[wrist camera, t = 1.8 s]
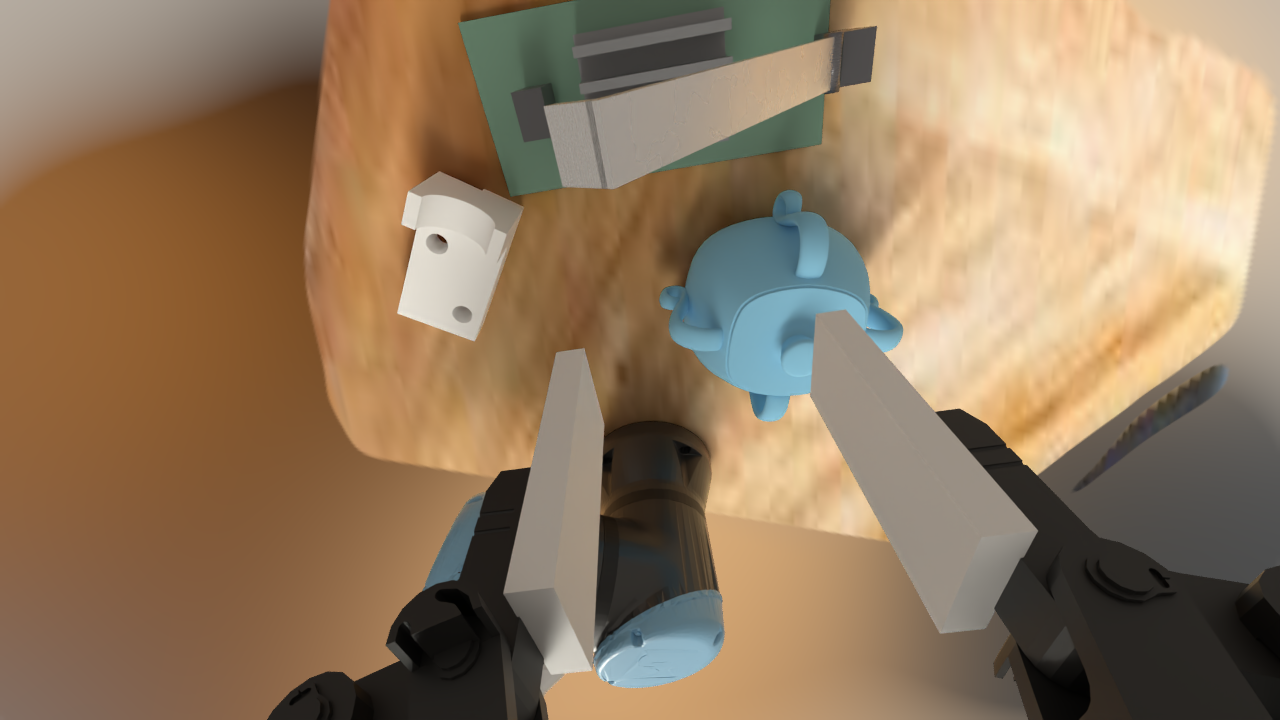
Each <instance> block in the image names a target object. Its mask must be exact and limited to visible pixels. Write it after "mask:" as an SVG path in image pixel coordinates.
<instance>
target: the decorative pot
mask: <svg viewBox="0 0 1280 720" xmlns="http://www.w3.org/2000/svg"><path fill="white" fill-rule="evenodd" d="M801 208H802V196H801V194H800V193H799V192H797V191H794V190H786V191H783V192H781V193H780V194H779V195H778V196H777V198H776V200H775V203H774V206H773V217H763V218H756V219H751V220H747V221H743V222H740V223H736V224H733V225H730V226H728V227H726V228H723V229H721V230H719V231H718V232H716V233H714V234H713V235H711V236H710V237H709V238H708V239H707V240H706V241H704V242H703V244H702V245H701V246H700V247H699V249H698V250H697V252H696V254H695V256H694V257H693V260H692V263H691V266H690V269H689V272H688V276H687V280H686V285H685V288H684V287H682V286H669V287H666V288H665V289H663V291H662V292H661V294H660V299H659V301H660V305H661V307H663V308H664V309H668V310H673V311H672V314H671V316H670V320H669V333H670V335H671V337H672V339H673V340H674V341H675V342H676V343H677V344H679V345H681V346H683V347H685V348H688V349H692V350H693V352H694V353H695V355H696V356H697V358H698V359H699V361H700V362H701V363H702V364H703V365H704V366H705V367H706V368H707V369H708V370H709V371H711V372H712V373H713V374H715V375H716V376H718V377H720V378H721V379H723V380H725V381H726V382H728V383H730V384H731V385H733V386H735V387H738V388H740V389H743V390H745V391H749V394H750V399H751V404H752V408H753V411H754V414H755V416H756V417H757V418H758V419H760V420H762V421H776V420H779V419H780V418H782V417H783V415H784V414H785V412H786V410H787V407H788V404H789V399H790V396H791V395H801V394H808V393H810V391H811V377H812V362H813V348H814V333H815V319H816V314H818V313H825V312H832V311H838V310H845V309H846V310H847V312H848V313H849V314H850V315H851V316H852V317H853V318H854V320H855V321H856V322H857V323H858V324H859V325H860V326H861V328H862V329H863V330H864V331H865V332H866V333H867V335H868V336H869V337H870V338H871V339H872V340H873V341H874V343H875V344H876V345H877V346H878V347H879V348H880V349H881V351H882V352H887V351H890V350H892V349H893V348H895V347H896V346H897V345H898V343H899V342H900V340H901V338H902V335H903V327H902V325H901V323H900V322H899V321H898V320H897V319H896V318H895V317H893V316H892V315H890V314H889V313H887V312H886V311H884V310H882V309H881V308H879V307H878V305H879V303H878V300H877V298H876V297H875V296H873V295H872V294H870V286H869V277H868V273H867V269H866V267H865V264H864V262H863V260H862V258H861V256H860V254H859V253H858V251H857V250H856V248H855V247H854V245H853V244H852V243H851V242H850V241H849V240H848V239H847V238H846V237H845V236H844V235H842V234H841V233H840V232H838V231H836V230H835V229H833V228H831V227H829V226H827V224H826V222H825V220H824V219H823V218H822V217H821V216H820V215H818V214H816V213H813V212H801ZM683 320H684V322H683ZM866 327H869V328H870V329H868V328H866Z"/></svg>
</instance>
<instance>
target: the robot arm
mask: <svg viewBox="0 0 1280 720" xmlns="http://www.w3.org/2000/svg"><path fill="white" fill-rule="evenodd" d="M810 397H811V398H812V400H813V402H814V404H815V406H816V408H817V409H818V411H819V413H820V415H821V417H822V419H823V420H824V422H825V424H826V426H827V428H828V429H829V431H830V433H831V435H832V437H833V439H834V440H835V442H836V444H837V446H838V448H839V450H840V451H841V453H842V455H843V457H844V459H845V461H846V462H847V464H848V466H849V468H850V470H851V472H852V473H853V475H854V477H855V479H856V481H857V482H858V484H859V486H860V488H861V490H862V492H863V493H864V495H865V497H866V499H867V501H868V503H869V504H870V506H871V508H872V510H873V512H874V514H875V515H876V517H877V519H878V521H879V523H880V525H881V526H882V528H883V530H884V532H885V534H886V535H887V537H888V539H889V541H890V543H891V545H892V546H893V548H894V550H895V552H896V554H897V555H898V557H899V559H900V561H901V563H902V565H903V566H904V568H905V570H906V572H907V574H908V576H909V577H910V579H911V581H912V583H913V585H914V586H915V588H916V590H917V592H918V594H919V596H920V597H921V599H922V601H923V603H924V605H925V607H926V608H927V610H928V612H929V614H930V616H931V618H932V620H933V621H934V623H935V625H936V627H937V629H938V631H939V632H940V633H950V632H959V631H968V630H978V629H986V627H987V625H988V623H989V622H990V620H991V618H992V616H993V614H994V612H995V611H996V612H997V614H998V615H999V617H1000V618H1001V619H1002V621H1003V623H1004V624H1005V626H1006V627H1007V628H1008V630H1009V632H1010V635H1009V636H1008V638H1007V639H1006V641H1005V643H1004V644H1003V646H1002V648H1001V649H1000V651H999V653H998V655H997V657H996V659H995V661H994V675H995V677H998V678H1003V677H1004V676H1005V674H1006V673H1007V671H1008V669H1009V668H1010V666H1011V668H1012V671H1013V674H1014V681H1016V683H1017V686H1018V689H1019V692H1020V695H1021V699H1022V702H1023V704H1024V708H1025V711H1026V714H1027V717H1028V720H1280V566H1276V567H1273V568H1269V569H1266V570H1264V571H1263V572H1262V573H1261V574H1260V575H1259V576H1258V577H1257V578H1256V579H1255V580H1254V581H1253V582H1252V583H1250V584H1244V583H1239V582H1232V581H1226V580H1220V579H1213V578H1207V577H1200V576H1194V575H1188V574H1181V573H1176V572H1172V571H1168V570H1167V569H1166V568H1164V567H1163V566H1162V565H1160V564H1159V563H1157V562H1156V561H1154V560H1153V559H1151V558H1150V557H1149V556H1147V555H1146V554H1144V553H1142V552H1140V551H1138V550H1135V549H1133V548H1131V547H1129V546H1126V545H1124V544H1122V543H1120V542H1115V541H1111V540H1107V539H1103V538H1099V537H1098V536H1097V535H1096V534H1094V533H1093V532H1092V531H1091V530H1090V529H1089V528H1088V527H1087V526H1086V525H1085V524H1084V523H1083V522H1082V521H1081V520H1080V519H1079V518H1078V517H1077V516H1076V515H1075V514H1074V513H1073V512H1072V511H1071V510H1070V509H1069V508H1068V507H1067V506H1066V505H1065V504H1064V503H1063V502H1062V501H1061V500H1060V499H1059V497H1057V495H1055V494H1054V492H1053V491H1052V490H1051V489H1050V488H1049V487H1048V486H1047V485H1046V484H1045V483H1044V482H1043V481H1042V480H1041V479H1040V478H1039V477H1038V476H1037V475H1036V474H1035V473H1034V472H1033V471H1032V470H1031V469H1030V468H1029V467H1028V466H1027V465H1023V463H1022V460H1021V459H1020V458H1019V457H1018V456H1017V455H1016V454H1015V453H1014V452H1013V451H1012V450H1011V449H1010V448H1007V447H1006V443H1005V442H1004V441H1003V440H1002V439H1001V438H1000V437H999V436H998V435H997V434H996V433H995V432H994V431H993V430H992V429H991V428H990V427H989V426H988V425H987V424H985V423H984V422H982V421H980V420H979V419H977V418H975V417H973V416H972V415H970V414H968V413H966V412H965V411H963V410H961V409H953V410H946V411H938V412H934V410H933V409H932V408H931V407H930V406H929V405H928V403H927V402H926V401H925V400H924V399H923V398H922V397H921V395H920V394H919V393H918V392H917V391H916V390H915V389H914V387H913V386H912V385H911V384H910V383H909V382H908V380H907V379H906V378H905V377H904V376H903V375H902V374H901V372H900V371H899V370H898V369H897V368H896V367H895V366H894V364H893V363H892V362H891V361H890V360H889V359H888V357H887V356H886V355H885V354H884V353H883V352H882V351H881V349H880V348H879V347H878V346H877V345H876V344H875V343H874V341H873V340H872V339H871V338H870V337H869V336H868V335H867V333H866V332H865V331H864V330H863V329H862V328H861V326H860V325H859V324H858V323H857V322H856V321H855V320H854V318H853V317H852V316H851V315H850V314H849V313H848V312H847V310H846V309H845V310H838V311H832V312H825V313H818V314H816V319H815V333H814V348H813V362H812V377H811V391H810ZM711 476H712V473H711V464H710V460H709V455H708V452H707V449H706V447H705V445H704V444H703V443H702V441H701V440H700V439H699V438H698V437H697V436H696V435H694V434H693V433H692V432H690V431H688V430H687V429H685V428H682V427H680V426H677V425H674V424H670V423H665V422H640V423H635V424H630V425H627V426H624V427H622V428H619V429H617V430H615V431H613V432H612V433H610V434H609V435H607V436H606V437H605V438H604V421H603V417H602V414H601V410H600V406H599V402H598V398H597V395H596V391H595V387H594V383H593V379H592V376H591V372H590V368H589V364H588V360H587V356H586V353H585V349H584V348H582V349H575V350H568V351H561V352H556V356H555V361H554V365H553V370H552V374H551V379H550V383H549V388H548V393H547V397H546V402H545V406H544V411H543V415H542V420H541V424H540V429H539V433H538V438H537V443H536V447H535V452H534V456H533V461H532V465H531V467H530V468H522V469H515V470H507V471H501V472H500V474H499V475H498V476H497V478H496V479H495V480H494V482H493V483H492V484H491V486H490V487H489V488H488V490H487V491H486V492H482V493H479V494H477V495H475V496H473V497H472V498H470V499H469V500H468V501H467V502H466V504H465V505H464V506H463V508H462V509H461V511H460V513H459V514H458V516H457V518H456V520H455V522H454V523H453V525H452V527H451V530H450V531H449V533H448V535H447V537H446V539H445V541H444V543H443V545H442V547H441V549H440V551H439V554H438V555H437V558H436V560H435V562H434V564H433V566H432V569H431V571H430V573H429V576H428V578H427V580H426V583H425V587H424V589H423V591H422V592H420V593H419V594H418V595H416V597H414V598H413V599H412V600H411V601H410V602H409V603H408V604H407V605H406V606H405V607H404V608H403V609H402V611H401V612H400V614H399V615H398V617H397V618H396V620H395V621H394V623H393V625H392V626H391V629H390V632H389V636H388V639H387V643H386V646H387V647H388V648H389V650H391V651H392V653H393V654H394V655H395V656H396V657H397V658H398V659H399V660H400V661H398V662H396V663H394V664H392V665H389V666H387V667H385V668H383V669H381V670H379V671H376V672H374V673H372V674H370V675H368V676H366V677H363V678H361V679H359V680H357V681H355V682H354V681H353V680H352V679H350V678H349V677H348V676H347V675H345V674H344V673H343V672H325V673H323V674H320V675H317V676H314V677H312V678H309V679H308V680H307V681H305V682H304V683H303V684H301V685H299V686H298V687H297V688H295V689H294V690H292V691H291V692H290V693H289V694H288V695H287V696H286V697H285V698H284V699H283V700H282V701H281V702H280V703H279V705H278V706H277V707H276V708H275V709H274V710H273V711H272V713H271V714H270V716H269V718H268V719H267V720H548V714H547V707H546V703H545V700H544V695H545V694H546V692H547V691H548V690H549V689H550V688H551V687H553V686H554V685H555V684H556V683H557V682H558V681H559V680H560V679H561V678H562V677H563V676H564V675H565V673H574V672H583V671H592V667H593V664H594V666H595V669H596V672H597V675H598V676H599V678H600V679H601V680H603V681H607V682H608V683H609V684H611V685H613V686H618V687H625V688H643V687H651V686H658V685H662V684H666V683H671V682H674V681H677V680H680V679H682V678H685V677H688V676H690V675H692V674H694V673H696V672H698V671H699V670H701V669H703V668H704V667H706V666H707V665H708V664H709V663H710V662H711V661H712V660H713V659H714V658H715V657H716V656H717V655H718V653H719V652H720V649H721V648H722V645H723V642H724V622H723V611H722V596H721V594H720V592H719V587H718V582H717V576H716V571H715V566H714V560H713V555H712V550H711V545H710V539H709V534H708V529H707V524H706V518H705V508H706V503H707V498H708V493H709V488H710V483H711ZM593 653H594V657H593Z"/></svg>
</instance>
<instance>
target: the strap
mask: <svg viewBox="0 0 1280 720" xmlns="http://www.w3.org/2000/svg"><path fill="white" fill-rule="evenodd" d="M843 36H844V31H838V32H832V33H827V34H823V37H822V39H820V40H816V41H812V42H808V43H805V44H801V45H797V46H793V47H790V48H786V49H782V50H778V51H775V52H771V53H767V54H763V55H759V56H756V57H752V58H748V59H744V60H741V61H737V62H733V63H729V64H726V65H722V66H718V67H714V68H711V69H707V70H703V71H699V72H695V73H692V74H688V75H684V76H680V77H677V78H673V79H669V80H665V81H662V82H658V83H654V84H650V85H647V86H643V87H639V88H635V89H631V90H628V91H624V92H620V93H616V94H613V95H609V96H605V97H601V98H598V99H589V100H580V101H572V102H563V103H555V104H551V105H547V106H544V111H545V115H546V119H547V123H548V128H549V132H550V136H551V140H552V144H553V149H554V153H555V157H556V161H557V165H558V170H559V174H560V178H561V182H562V186H563V187H577V188H600V189H615V188H618V187H620V186H622V185H624V184H626V183H629V182H631V181H633V180H635V179H637V178H639V177H642V176H644V175H646V174H648V173H650V172H653V171H655V170H657V169H659V168H661V167H663V166H666V165H668V164H670V163H672V162H674V161H677V160H679V159H681V158H683V157H685V156H687V155H690V154H692V153H694V152H696V151H698V150H701V149H703V148H705V147H707V146H709V145H712V144H714V143H716V142H718V141H720V140H722V139H725V138H727V137H729V136H731V135H733V134H736V133H738V132H740V131H742V130H744V129H746V128H749V127H751V126H753V125H755V124H757V123H760V122H762V121H764V120H766V119H768V118H770V117H773V116H775V115H777V114H779V113H781V112H784V111H786V110H788V109H790V108H792V107H795V106H797V105H799V104H801V103H803V102H805V101H808V100H810V99H812V98H814V97H816V96H819V95H821V94H829V93H835V92H839V87H840V74H841V61H842V48H843Z"/></svg>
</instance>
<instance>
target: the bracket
mask: <svg viewBox="0 0 1280 720" xmlns="http://www.w3.org/2000/svg"><path fill="white" fill-rule="evenodd" d="M523 209H524V207H523V206H521V205H519V204H517V203H514V202H512V201H510V200H508V199H506V198H503V197H501V196H499V195H497V194H495V193H492V192H490V191H488V190H486V189H483V190H480V189H478V188H475V187H473V186H471V185H469V184H467V183H464V182H462V181H460V180H458V179H456V178H453V177H451V176H449V175H447V174H445V173H442V172H440V171H439V172H437V173H436V174H434V175H433V176H431V177H430V178H428V179H426V180H425V181H423V182H422V183H420V184H419V185H417V186H416V187H414V188H412V189H411V190H409V191H408V195H407V199H406V204H405V209H404V214H403V218H402V223H401V225H404V226H406V227H408V228H411V229H413V230H415V229H417V230H416V234H415V238H414V243H413V247H412V251H411V256H410V260H409V265H408V269H407V273H406V278H405V282H404V286H403V291H402V295H401V299H400V304H399V308H398V314H400V315H403V316H406V317H409V318H411V319H414V320H417V321H420V322H422V323H425V324H428V325H431V326H433V327H436V328H439V329H442V330H444V331H447V332H450V333H453V334H455V335H458V336H461V337H464V338H466V339H469V340H472V341H475V340H476V338H477V336H478V334H479V332H480V330H481V328H482V326H483V324H484V321H485V318H486V315H487V312H488V310H489V307H490V304H491V301H492V298H493V295H494V292H495V289H496V287H497V284H498V281H499V278H500V275H501V272H502V269H503V266H504V264H505V261H506V258H507V255H508V252H509V249H510V246H511V243H512V240H513V238H514V235H515V232H516V229H517V226H518V223H519V220H520V217H521V215H522V212H523ZM437 234H439V235H441V236H443V237H444V238H445V239H446V241H447V243H448V244H447V243H444V242H442V241H441V240H440V239H439V238H438V236H437Z"/></svg>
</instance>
